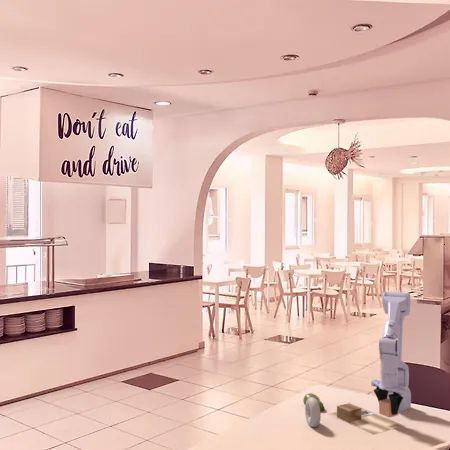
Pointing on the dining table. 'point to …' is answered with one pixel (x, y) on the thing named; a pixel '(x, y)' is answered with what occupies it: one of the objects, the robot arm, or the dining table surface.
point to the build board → (372, 422)
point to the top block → (385, 408)
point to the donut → (312, 412)
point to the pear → (315, 398)
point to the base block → (349, 412)
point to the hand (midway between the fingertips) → (388, 411)
